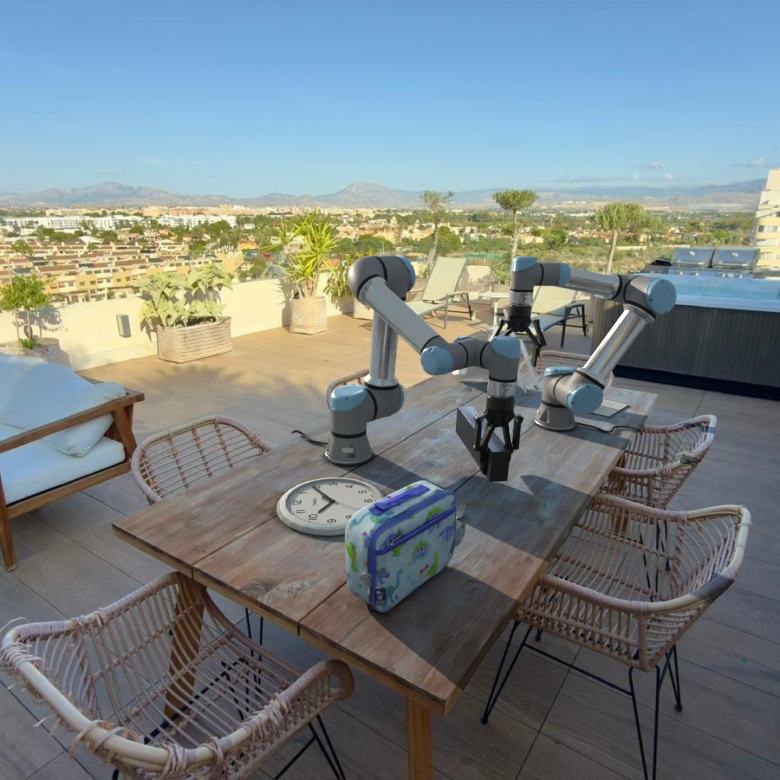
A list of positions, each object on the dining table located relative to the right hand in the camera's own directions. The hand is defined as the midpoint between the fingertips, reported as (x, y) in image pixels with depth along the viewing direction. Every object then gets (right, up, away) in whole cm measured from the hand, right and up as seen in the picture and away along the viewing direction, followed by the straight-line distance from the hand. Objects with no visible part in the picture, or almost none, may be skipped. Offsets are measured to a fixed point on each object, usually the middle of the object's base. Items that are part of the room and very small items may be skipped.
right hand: (514, 366), depth 179 cm
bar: (-16, -28, -19) cm, 37 cm away
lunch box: (-40, -50, -67) cm, 93 cm away
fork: (-26, -43, -45) cm, 67 cm away
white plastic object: (+5, -7, +72) cm, 72 cm away
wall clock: (-59, -40, -37) cm, 80 cm away
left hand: (-14, -31, -32) cm, 47 cm away
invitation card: (+49, -15, +47) cm, 69 cm away
